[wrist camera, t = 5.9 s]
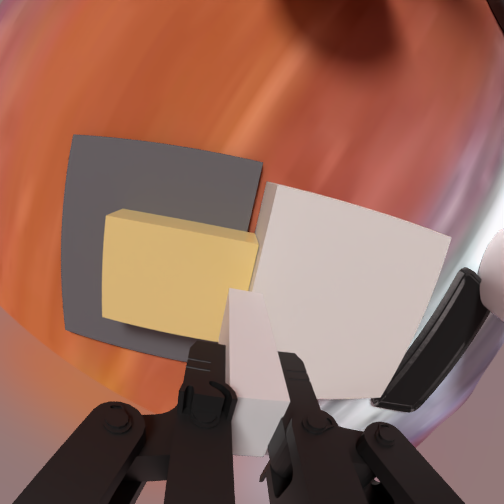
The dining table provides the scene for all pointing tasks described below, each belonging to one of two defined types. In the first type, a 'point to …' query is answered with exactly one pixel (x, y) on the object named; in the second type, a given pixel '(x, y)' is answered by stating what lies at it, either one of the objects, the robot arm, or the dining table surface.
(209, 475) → the robot arm
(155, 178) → the dark grey mat
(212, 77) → the dining table surface
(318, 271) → the white stand
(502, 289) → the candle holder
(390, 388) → the phone
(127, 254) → the ochre tile
